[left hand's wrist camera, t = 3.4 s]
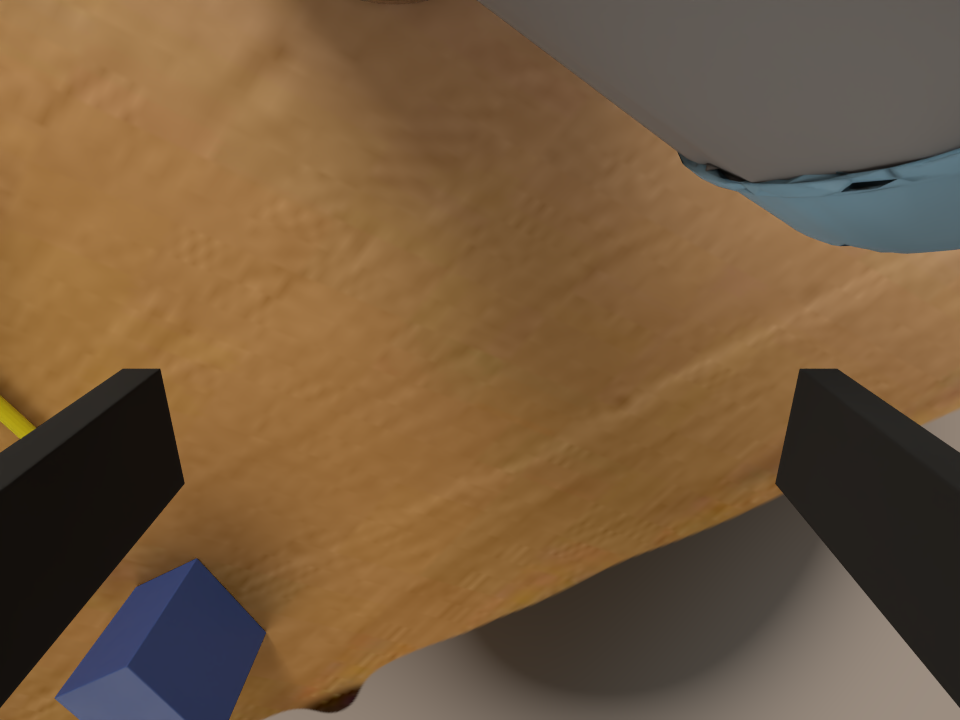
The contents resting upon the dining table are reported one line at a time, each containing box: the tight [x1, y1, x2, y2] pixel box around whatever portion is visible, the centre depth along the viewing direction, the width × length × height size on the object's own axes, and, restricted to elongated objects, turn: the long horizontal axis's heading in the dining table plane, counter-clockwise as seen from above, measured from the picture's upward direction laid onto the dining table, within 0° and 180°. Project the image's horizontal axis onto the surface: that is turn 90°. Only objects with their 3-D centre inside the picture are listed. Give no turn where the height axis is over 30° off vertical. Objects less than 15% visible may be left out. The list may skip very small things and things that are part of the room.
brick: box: [55, 559, 266, 720], centre depth 38 cm, size 8×6×8 cm
